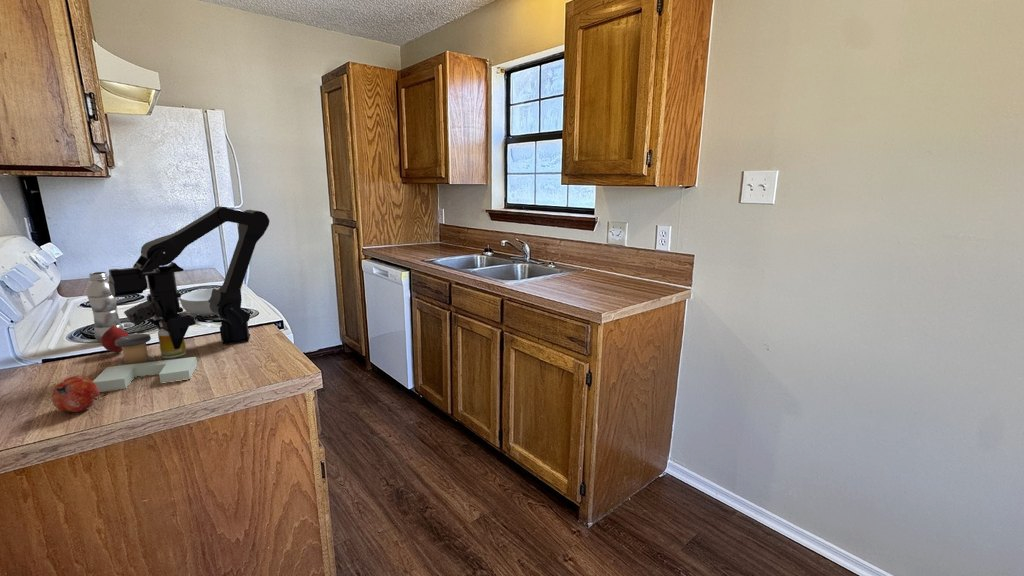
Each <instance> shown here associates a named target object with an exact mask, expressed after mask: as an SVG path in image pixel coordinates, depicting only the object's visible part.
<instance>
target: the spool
mask: <svg viewBox="0 0 1024 576" xmlns="http://www.w3.org/2000/svg"><path fill="white" fill-rule="evenodd" d="M151 338H152V337H151V335H150V334H148V333H147V334H146V333H138V334H137V333H136V334H129V336H124V337H121V338H119V339H117V340H115V345H116V346H120V347H122V355H123V361H121V362H120V363H119V365H118V366H122V365H130V364H139V363H147V362H156V361H155V357H154V356H151V355H149V351H148V347H147V343H148V342H149V341H151V340H152V339H151Z"/></svg>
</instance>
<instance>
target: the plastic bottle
mask: <svg viewBox="0 0 1024 576" xmlns="http://www.w3.org/2000/svg"><path fill="white" fill-rule="evenodd" d="M88 275H89V281H90V282H91V283H90V284H89V286H88V287H87V289H86V291H85V292H86V293H85V294H86V297H87V300H88V302H89V304H90V307H91V311H92V315H93V322H94V328H93V329H94V330H93V332H94V333H93V334H94V337H95V339H96V340H97V341H98V342H99V343H101V339H102V336H103V334H104V333H105V332H106V331H107V330H109V329H110V328H111V326H112V325H117V328H120V329H122V330H124V327H123V324H122V323H121V320H120V316H119V313H118V307H117V297H113V296H112V294H111V291H110V288H109V283H108V281H109V277H108V276H107V272H106V271H96V272H95V271H94V272H91V273H89V274H88ZM124 331H125V330H124Z"/></svg>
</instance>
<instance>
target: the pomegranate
mask: <svg viewBox="0 0 1024 576" xmlns="http://www.w3.org/2000/svg"><path fill="white" fill-rule="evenodd" d="M93 381H94V380H92V379H90V378H89V377H87V376H84V375H73V376H70V377H67V378H65V379H64V380H63V381H62V382H60V383H58V384H56V385H55V386H54V389H53V392H52V393H53V394H52V395H51V402H52V404H53V406H54V407H55V408H56V409H58V410H59V411H62V412H72V413H80V412H83V410H84V411H87V410H88V409H89V408H91V407H92V406H93V405H94V403H95V401H98V400H97V399H98V398H97V397H98V396H99V394H100V392H99V390H98V387H97V386H96V384H95V383H94V382H93ZM94 400H95V401H94ZM87 408H88V409H87ZM86 409H87V410H86ZM79 411H80V412H79Z"/></svg>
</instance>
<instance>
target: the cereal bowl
mask: <svg viewBox="0 0 1024 576" xmlns="http://www.w3.org/2000/svg"><path fill="white" fill-rule="evenodd" d="M219 288H220V287H214V288H212V287H211V288H204V289H197V290H193V291H189V292H186V293H183V294H181V297H179V303H180V304H181V308H183V310H185V311H186V313H187V312H188V314H194V315H198V316H199V317H200V316H201V317H210V316H209V315H216V314H214V313H213V312H212V311H211V309H210V303H209V302H208V300H209V299H210V298H211V295H212V290H213V289H216V290H218V289H219ZM216 316H217V315H216Z"/></svg>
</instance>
